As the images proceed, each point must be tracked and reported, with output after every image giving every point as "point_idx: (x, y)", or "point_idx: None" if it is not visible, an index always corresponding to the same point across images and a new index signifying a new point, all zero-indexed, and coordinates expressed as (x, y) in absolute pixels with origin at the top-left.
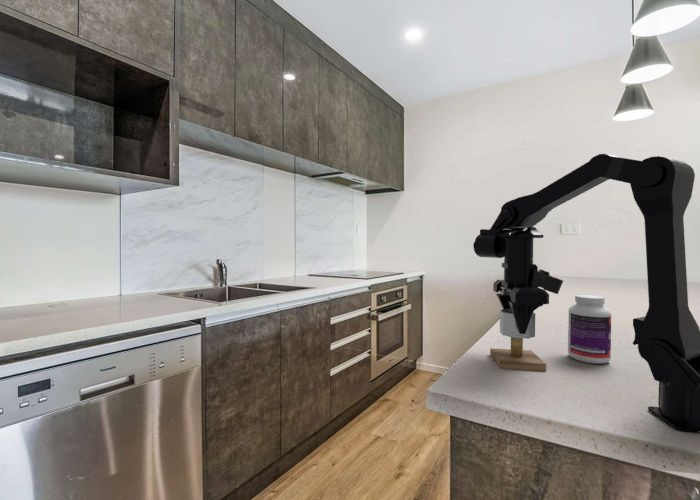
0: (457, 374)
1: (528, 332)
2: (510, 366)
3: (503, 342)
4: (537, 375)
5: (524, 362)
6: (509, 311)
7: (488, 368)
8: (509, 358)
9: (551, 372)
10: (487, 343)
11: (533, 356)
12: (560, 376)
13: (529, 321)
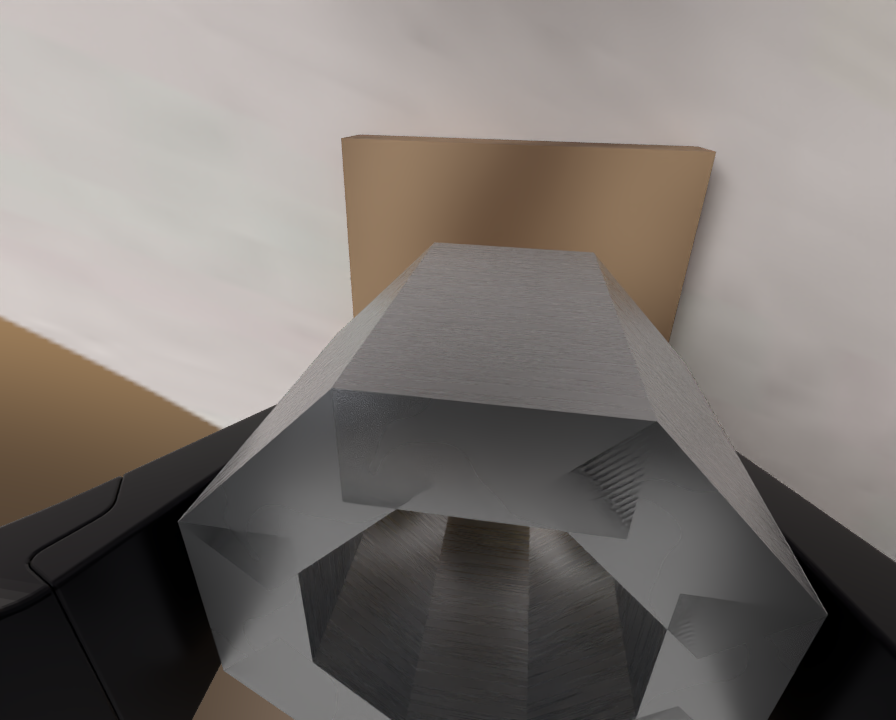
0: None
1: (708, 404)
2: None
3: (39, 223)
4: (775, 253)
5: (670, 320)
6: (351, 663)
7: None
8: None
9: (725, 111)
10: (121, 345)
11: (514, 186)
12: (825, 71)
13: (886, 557)
